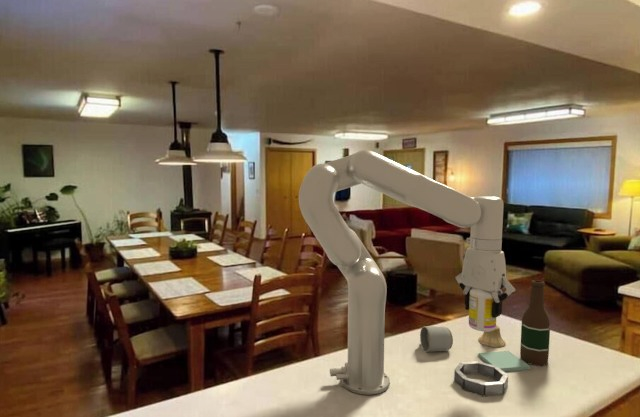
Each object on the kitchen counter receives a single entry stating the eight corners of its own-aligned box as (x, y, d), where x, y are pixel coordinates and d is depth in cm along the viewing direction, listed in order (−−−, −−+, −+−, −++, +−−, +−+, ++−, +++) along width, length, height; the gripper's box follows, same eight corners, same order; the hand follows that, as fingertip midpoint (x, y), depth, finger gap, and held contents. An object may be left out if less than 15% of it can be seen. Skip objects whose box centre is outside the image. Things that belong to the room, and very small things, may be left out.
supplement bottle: (497, 326, 108) (500, 278, 107) (493, 334, 103) (495, 284, 102) (471, 321, 112) (473, 275, 111) (465, 328, 106) (467, 280, 105)
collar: (470, 398, 102) (471, 386, 101) (447, 373, 114) (448, 363, 114) (516, 393, 104) (517, 382, 103) (489, 370, 116) (489, 360, 115)
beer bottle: (552, 367, 118) (557, 285, 115) (523, 365, 119) (527, 283, 117) (543, 355, 125) (547, 278, 123) (516, 353, 127) (519, 277, 125)
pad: (497, 372, 115) (497, 368, 115) (478, 356, 125) (478, 353, 125) (529, 369, 116) (530, 366, 116) (508, 354, 126) (508, 350, 126)
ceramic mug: (454, 354, 126) (454, 329, 126) (429, 356, 125) (429, 331, 124) (438, 340, 137) (438, 318, 136) (415, 342, 135) (415, 319, 135)
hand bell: (475, 336, 140) (477, 290, 138) (501, 337, 139) (503, 291, 137) (481, 346, 132) (483, 298, 130) (509, 348, 130) (511, 299, 129)
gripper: (447, 241, 110) (445, 306, 111) (512, 251, 96) (508, 325, 98) (463, 238, 114) (460, 301, 116) (526, 248, 101) (522, 318, 103)
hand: (482, 311), depth 107 cm, fingers closed on supplement bottle, 6 cm apart
